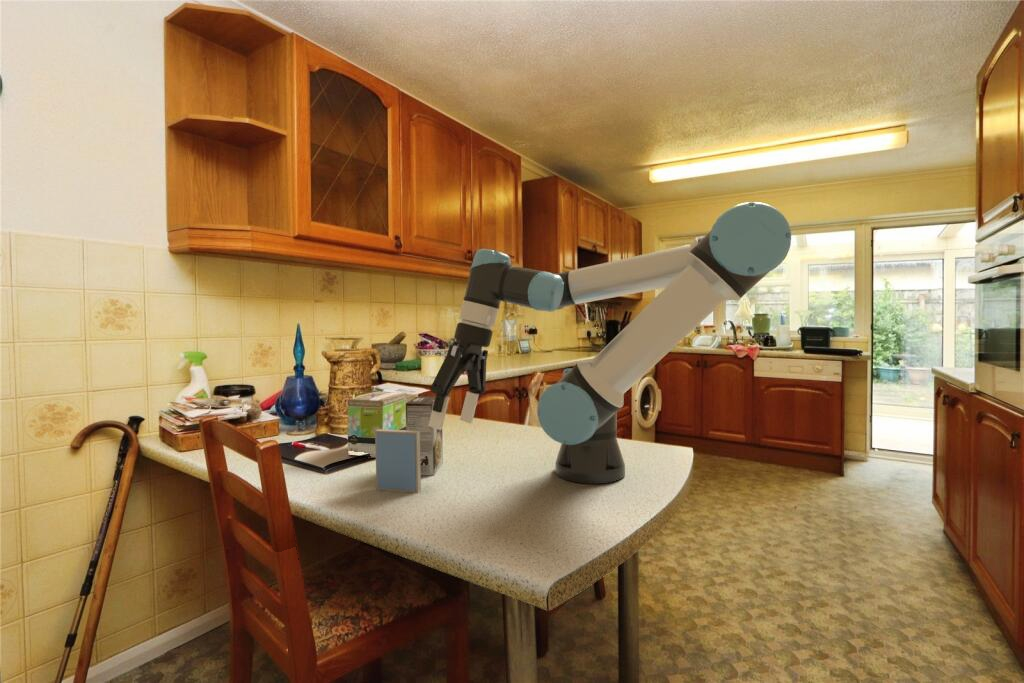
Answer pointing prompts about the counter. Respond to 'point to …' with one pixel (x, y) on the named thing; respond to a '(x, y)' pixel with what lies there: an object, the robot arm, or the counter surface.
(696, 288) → the robot arm
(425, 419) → the coffee box
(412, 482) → the grey flat piece
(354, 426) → the tea box
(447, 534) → the counter surface
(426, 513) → the counter surface
